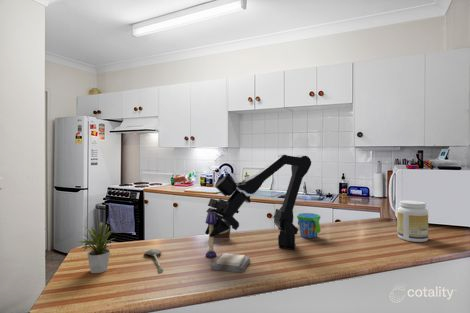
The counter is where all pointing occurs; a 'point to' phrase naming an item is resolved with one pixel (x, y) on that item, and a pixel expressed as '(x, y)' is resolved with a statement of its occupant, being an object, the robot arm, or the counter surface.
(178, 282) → the counter surface
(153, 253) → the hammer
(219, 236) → the food container
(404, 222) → the supplement tub
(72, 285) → the counter surface
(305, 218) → the snack cup
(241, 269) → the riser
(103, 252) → the house plant
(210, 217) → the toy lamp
